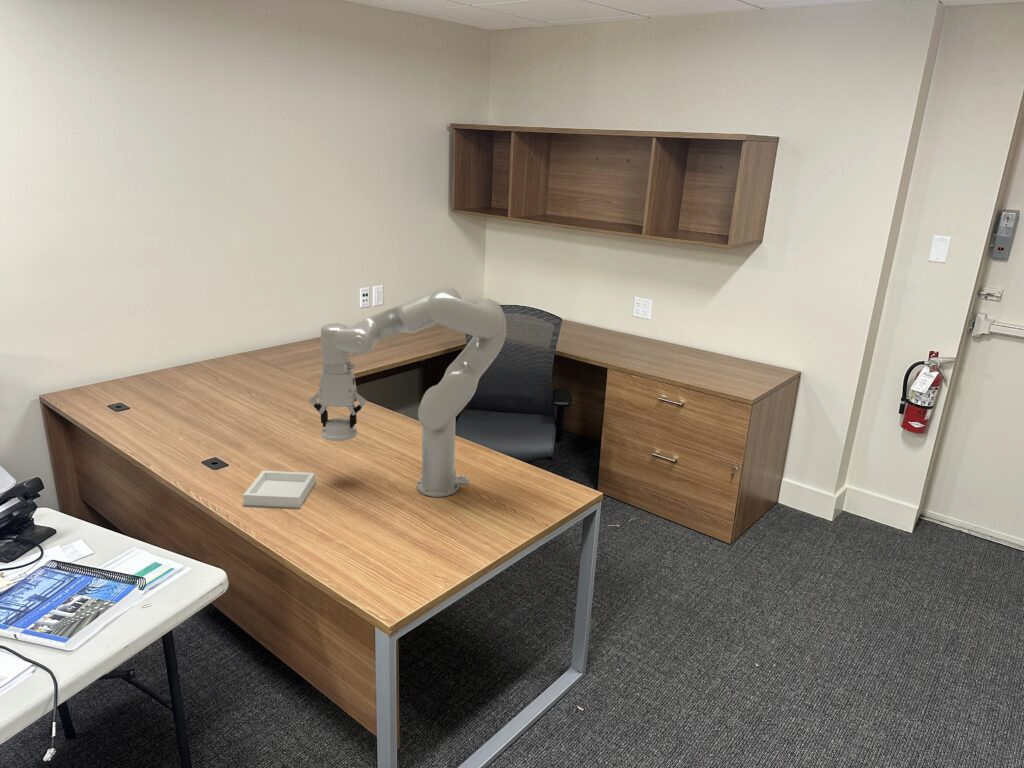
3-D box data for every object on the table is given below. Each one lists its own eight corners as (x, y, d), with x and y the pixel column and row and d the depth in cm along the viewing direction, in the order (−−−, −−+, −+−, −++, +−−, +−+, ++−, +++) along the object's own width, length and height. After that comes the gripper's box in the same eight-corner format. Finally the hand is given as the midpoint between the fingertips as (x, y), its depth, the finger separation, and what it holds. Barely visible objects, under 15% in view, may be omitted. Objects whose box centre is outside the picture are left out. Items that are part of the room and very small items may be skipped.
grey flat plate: (316, 482, 213) (316, 481, 213) (299, 510, 197) (299, 509, 196) (264, 480, 213) (264, 479, 213) (242, 507, 197) (242, 506, 197)
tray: (315, 482, 212) (314, 473, 211) (299, 507, 197) (299, 497, 196) (263, 480, 212) (262, 470, 211) (244, 505, 197) (243, 494, 196)
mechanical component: (364, 435, 209) (342, 426, 215) (363, 421, 207) (341, 412, 213) (336, 445, 201) (314, 435, 207) (335, 430, 200) (314, 421, 206)
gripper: (369, 364, 205) (371, 422, 211) (309, 362, 205) (312, 420, 211) (364, 372, 198) (366, 432, 204) (301, 370, 198) (305, 429, 204)
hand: (339, 425), depth 207 cm, fingers closed on mechanical component, 7 cm apart
